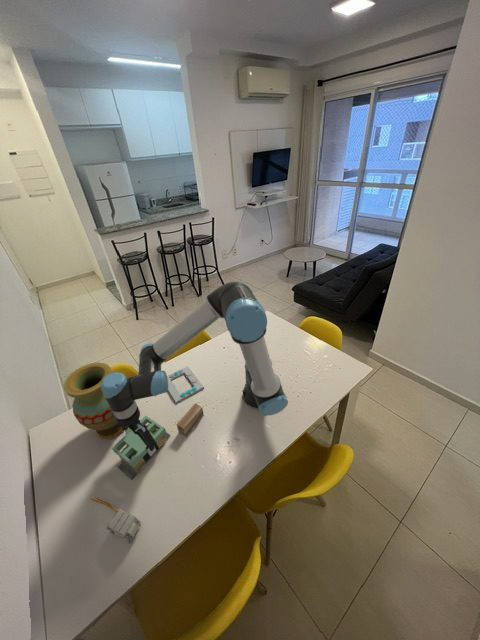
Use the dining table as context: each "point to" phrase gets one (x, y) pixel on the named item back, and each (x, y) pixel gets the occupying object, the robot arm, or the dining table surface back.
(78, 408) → the vase
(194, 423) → the brown rectangular block
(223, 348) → the dining table surface
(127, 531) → the electrical component
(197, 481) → the dining table surface
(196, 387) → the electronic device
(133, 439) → the board
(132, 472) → the chassis
